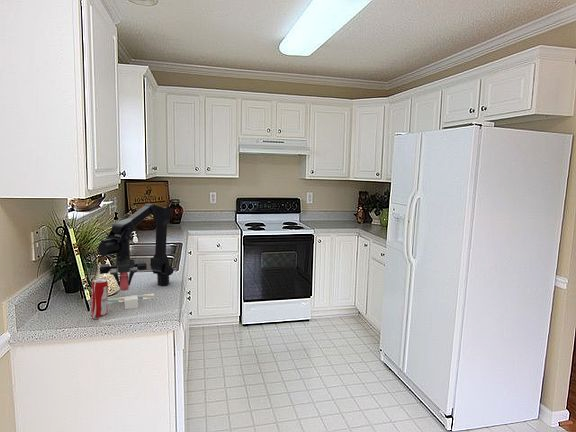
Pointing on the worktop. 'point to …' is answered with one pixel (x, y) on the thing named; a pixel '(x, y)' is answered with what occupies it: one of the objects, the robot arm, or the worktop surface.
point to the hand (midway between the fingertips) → (124, 286)
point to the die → (131, 302)
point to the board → (116, 300)
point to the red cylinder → (124, 281)
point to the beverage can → (99, 298)
